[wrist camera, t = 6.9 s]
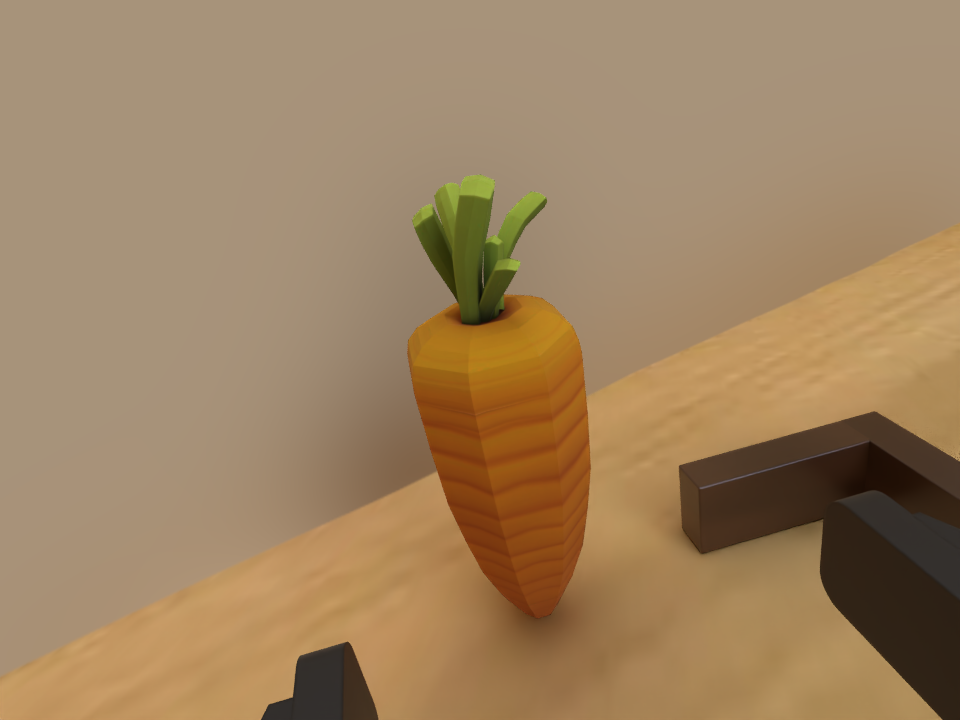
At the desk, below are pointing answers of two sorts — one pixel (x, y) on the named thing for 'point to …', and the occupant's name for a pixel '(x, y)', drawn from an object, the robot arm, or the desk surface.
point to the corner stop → (814, 480)
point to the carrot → (502, 401)
